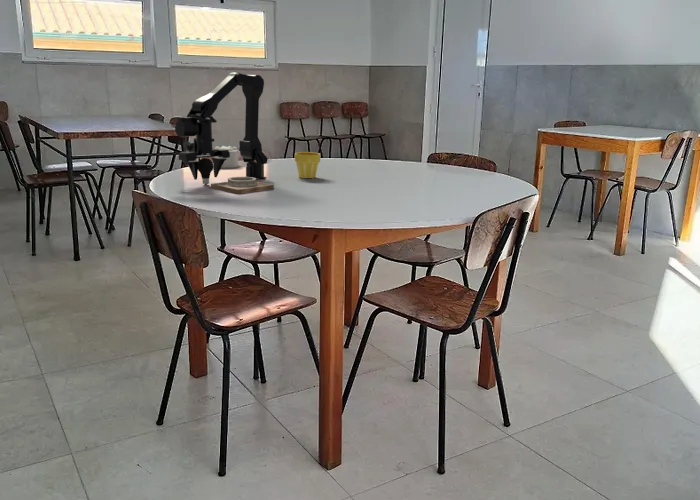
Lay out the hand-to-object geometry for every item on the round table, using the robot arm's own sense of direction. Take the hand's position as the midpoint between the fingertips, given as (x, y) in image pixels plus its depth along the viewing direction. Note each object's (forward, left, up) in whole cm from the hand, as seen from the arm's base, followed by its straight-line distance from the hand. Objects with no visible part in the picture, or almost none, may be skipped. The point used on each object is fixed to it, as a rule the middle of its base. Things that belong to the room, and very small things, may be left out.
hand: (205, 178), depth 231 cm
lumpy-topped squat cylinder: (-37, -38, -3) cm, 53 cm away
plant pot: (-42, +10, -3) cm, 43 cm away
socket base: (-6, +14, -2) cm, 15 cm away
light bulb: (0, 0, -3) cm, 3 cm away
